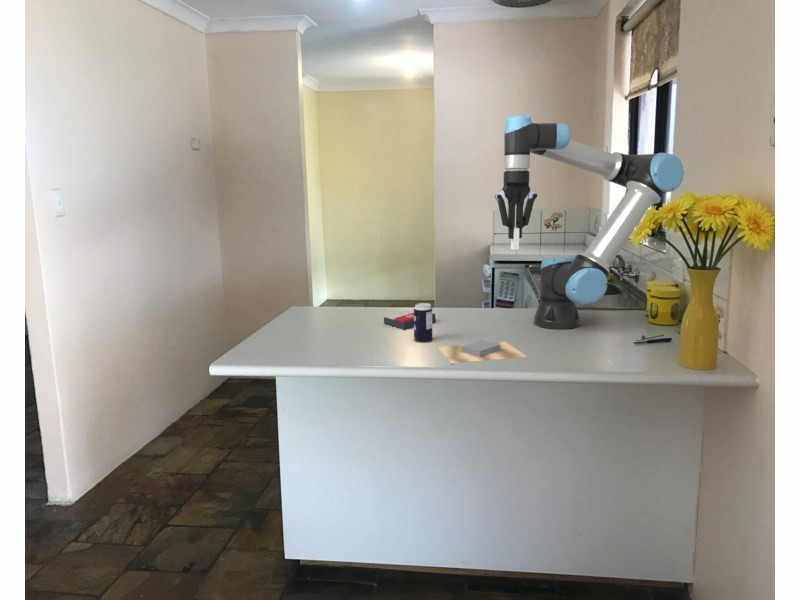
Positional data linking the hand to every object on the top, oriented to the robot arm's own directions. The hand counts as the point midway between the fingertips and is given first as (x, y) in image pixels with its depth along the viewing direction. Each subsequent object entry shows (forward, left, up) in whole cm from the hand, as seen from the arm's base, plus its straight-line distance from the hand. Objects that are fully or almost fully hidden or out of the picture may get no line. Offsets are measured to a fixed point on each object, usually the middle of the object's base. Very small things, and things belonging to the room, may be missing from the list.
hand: (514, 249), depth 179 cm
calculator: (+27, -28, -29) cm, 48 cm away
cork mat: (+15, +12, -28) cm, 34 cm away
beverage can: (+28, -4, -29) cm, 40 cm away
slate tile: (+11, +10, -27) cm, 31 cm away
